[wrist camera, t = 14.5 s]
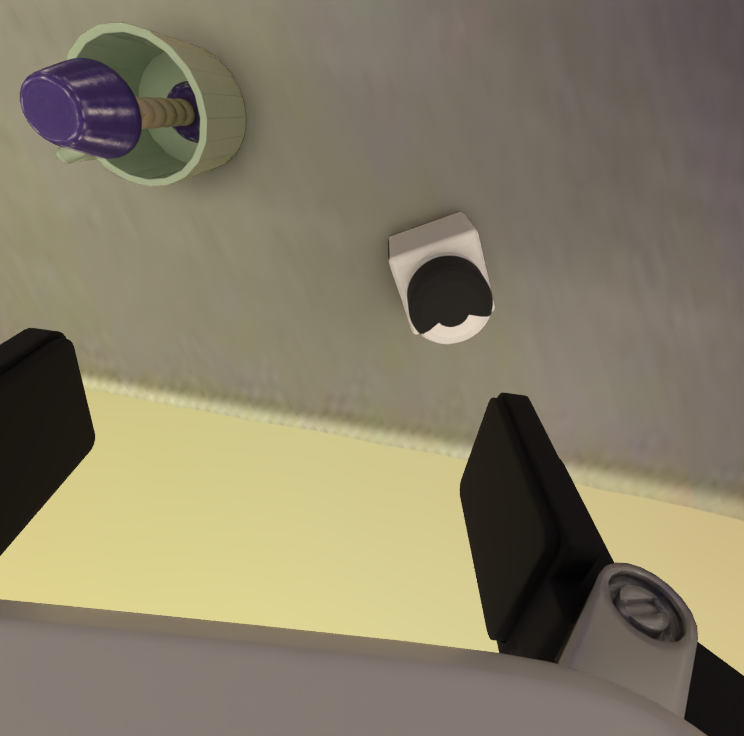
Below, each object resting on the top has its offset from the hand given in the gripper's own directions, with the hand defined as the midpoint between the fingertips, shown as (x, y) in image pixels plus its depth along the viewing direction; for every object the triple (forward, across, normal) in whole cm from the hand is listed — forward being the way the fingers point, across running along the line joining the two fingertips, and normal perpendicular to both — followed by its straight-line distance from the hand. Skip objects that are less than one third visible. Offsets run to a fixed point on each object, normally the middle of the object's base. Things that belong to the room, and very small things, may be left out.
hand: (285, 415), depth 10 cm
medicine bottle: (+32, -8, +5) cm, 34 cm away
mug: (+32, +15, -3) cm, 36 cm away
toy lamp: (+32, +14, -4) cm, 35 cm away
